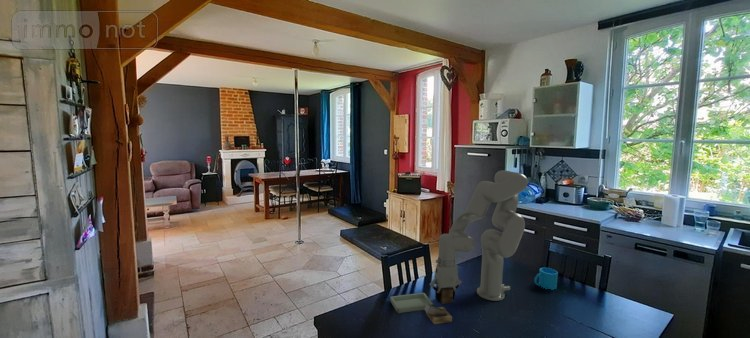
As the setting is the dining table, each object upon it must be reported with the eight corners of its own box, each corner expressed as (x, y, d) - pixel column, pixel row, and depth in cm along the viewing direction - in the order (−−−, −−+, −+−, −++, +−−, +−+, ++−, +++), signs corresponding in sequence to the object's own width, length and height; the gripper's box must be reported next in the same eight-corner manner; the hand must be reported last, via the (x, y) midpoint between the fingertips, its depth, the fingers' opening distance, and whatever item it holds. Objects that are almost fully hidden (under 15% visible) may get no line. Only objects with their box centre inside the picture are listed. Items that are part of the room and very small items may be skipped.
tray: (423, 296, 149) (423, 292, 149) (433, 308, 139) (433, 304, 139) (390, 300, 145) (390, 296, 145) (397, 313, 135) (397, 309, 135)
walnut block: (447, 297, 149) (447, 284, 149) (452, 302, 145) (453, 289, 144) (437, 298, 148) (438, 285, 147) (442, 303, 143) (443, 291, 143)
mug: (548, 281, 167) (549, 266, 166) (560, 289, 159) (561, 273, 158) (528, 284, 164) (529, 268, 163) (540, 291, 156) (541, 275, 155)
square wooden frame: (443, 311, 137) (443, 306, 137) (452, 321, 130) (452, 317, 129) (425, 313, 135) (426, 309, 135) (434, 324, 128) (434, 319, 127)
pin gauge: (443, 309, 134) (426, 303, 132) (446, 313, 132) (429, 306, 129) (440, 315, 134) (424, 309, 132) (443, 318, 132) (426, 312, 129)
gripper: (432, 266, 138) (431, 305, 140) (468, 263, 143) (466, 300, 145) (425, 259, 146) (424, 297, 148) (459, 256, 150) (457, 292, 152)
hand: (444, 298), depth 146 cm, fingers open, 6 cm apart
